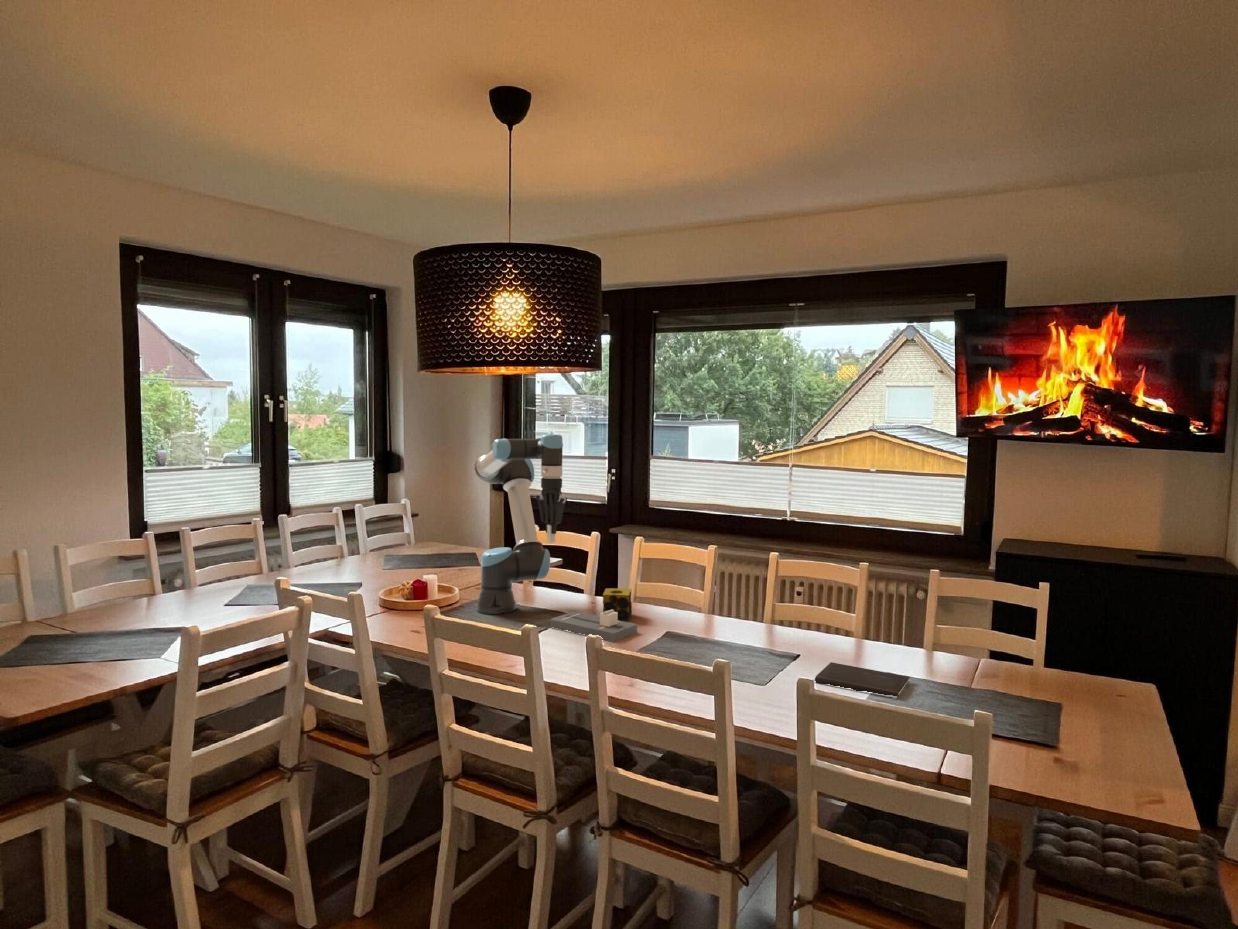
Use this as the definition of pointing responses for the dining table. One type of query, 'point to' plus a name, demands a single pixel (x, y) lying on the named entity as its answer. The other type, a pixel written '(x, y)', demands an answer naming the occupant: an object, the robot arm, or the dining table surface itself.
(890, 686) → the hardcover book
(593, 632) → the fader board
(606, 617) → the fader tab
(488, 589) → the robot arm
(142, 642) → the dining table surface
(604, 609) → the candle
